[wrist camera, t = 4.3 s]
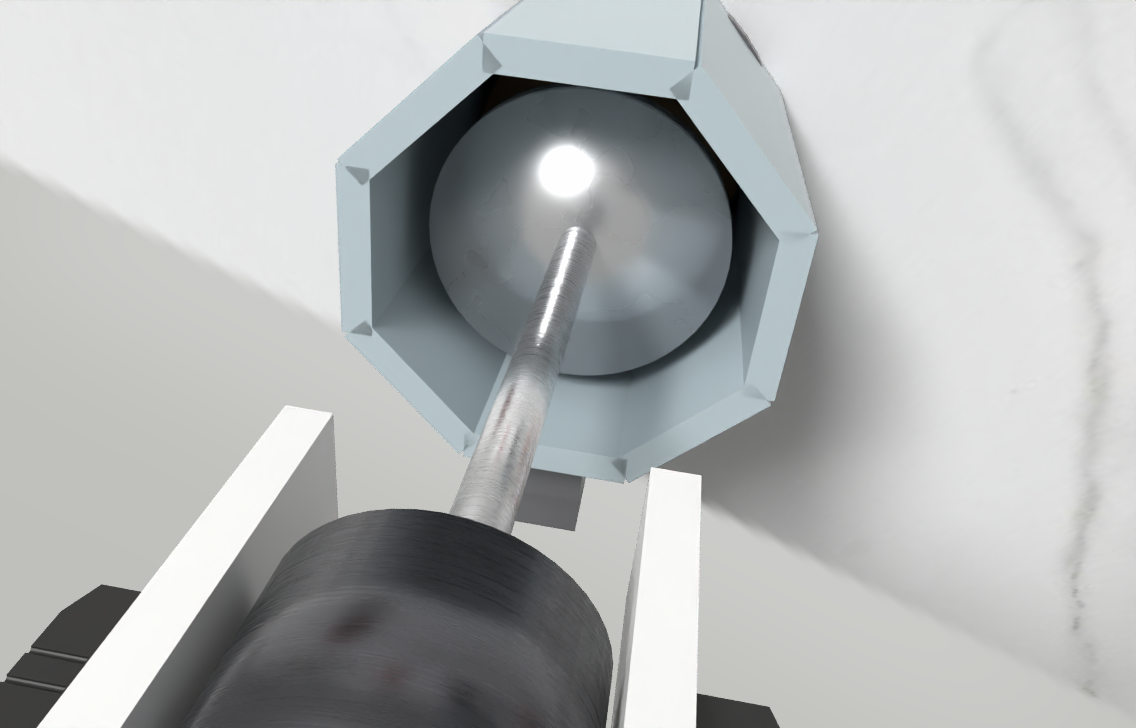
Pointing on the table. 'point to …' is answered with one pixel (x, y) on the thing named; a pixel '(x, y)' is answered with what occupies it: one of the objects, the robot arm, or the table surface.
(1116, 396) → the table surface
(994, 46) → the table surface
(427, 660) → the plunger
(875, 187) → the table surface
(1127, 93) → the table surface
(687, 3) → the octagonal grey mug
